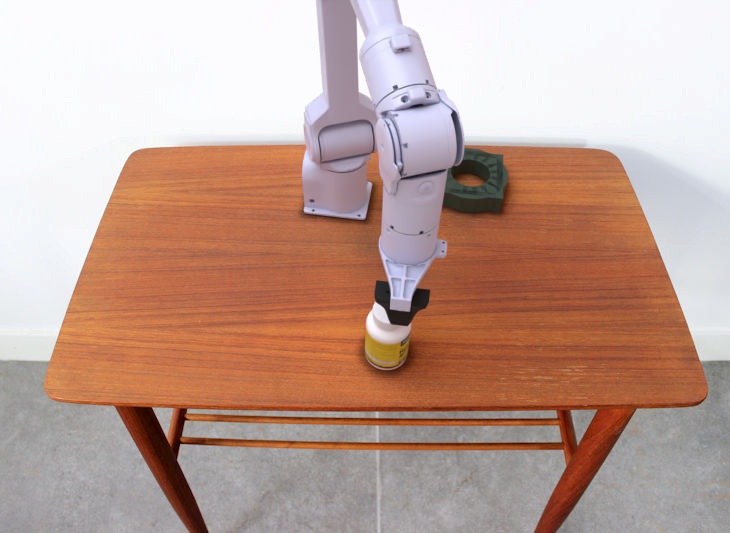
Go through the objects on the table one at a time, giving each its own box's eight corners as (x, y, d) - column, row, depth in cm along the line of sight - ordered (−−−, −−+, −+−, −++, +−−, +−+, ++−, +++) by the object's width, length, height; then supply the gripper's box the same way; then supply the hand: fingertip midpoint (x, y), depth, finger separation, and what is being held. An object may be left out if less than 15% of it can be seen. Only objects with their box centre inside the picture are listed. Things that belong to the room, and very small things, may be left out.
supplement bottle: (403, 375, 74) (409, 333, 67) (361, 367, 75) (361, 324, 67) (410, 338, 78) (416, 294, 70) (369, 331, 78) (370, 286, 71)
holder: (429, 208, 92) (431, 194, 90) (434, 158, 99) (436, 144, 97) (504, 216, 91) (507, 202, 89) (504, 166, 98) (507, 152, 96)
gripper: (447, 276, 54) (433, 353, 64) (456, 167, 63) (441, 251, 73) (370, 267, 54) (368, 345, 65) (389, 161, 63) (384, 244, 74)
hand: (403, 295), depth 69 cm, fingers open, 7 cm apart
